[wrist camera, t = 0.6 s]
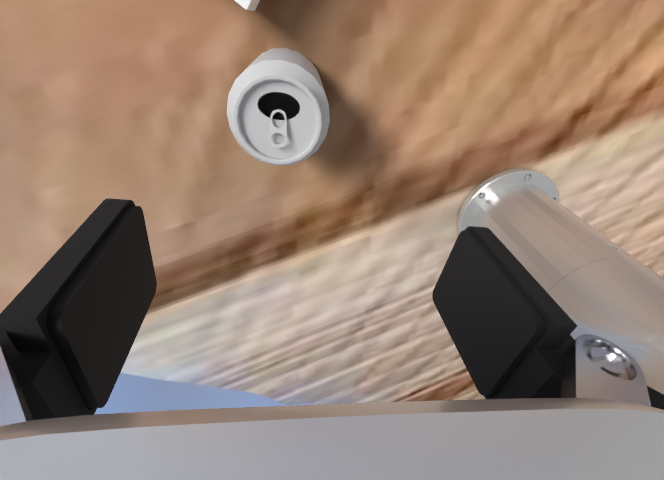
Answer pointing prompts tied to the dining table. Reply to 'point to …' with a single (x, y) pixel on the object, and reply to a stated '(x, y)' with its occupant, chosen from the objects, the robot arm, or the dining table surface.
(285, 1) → the dining table surface
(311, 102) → the can
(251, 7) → the riser
